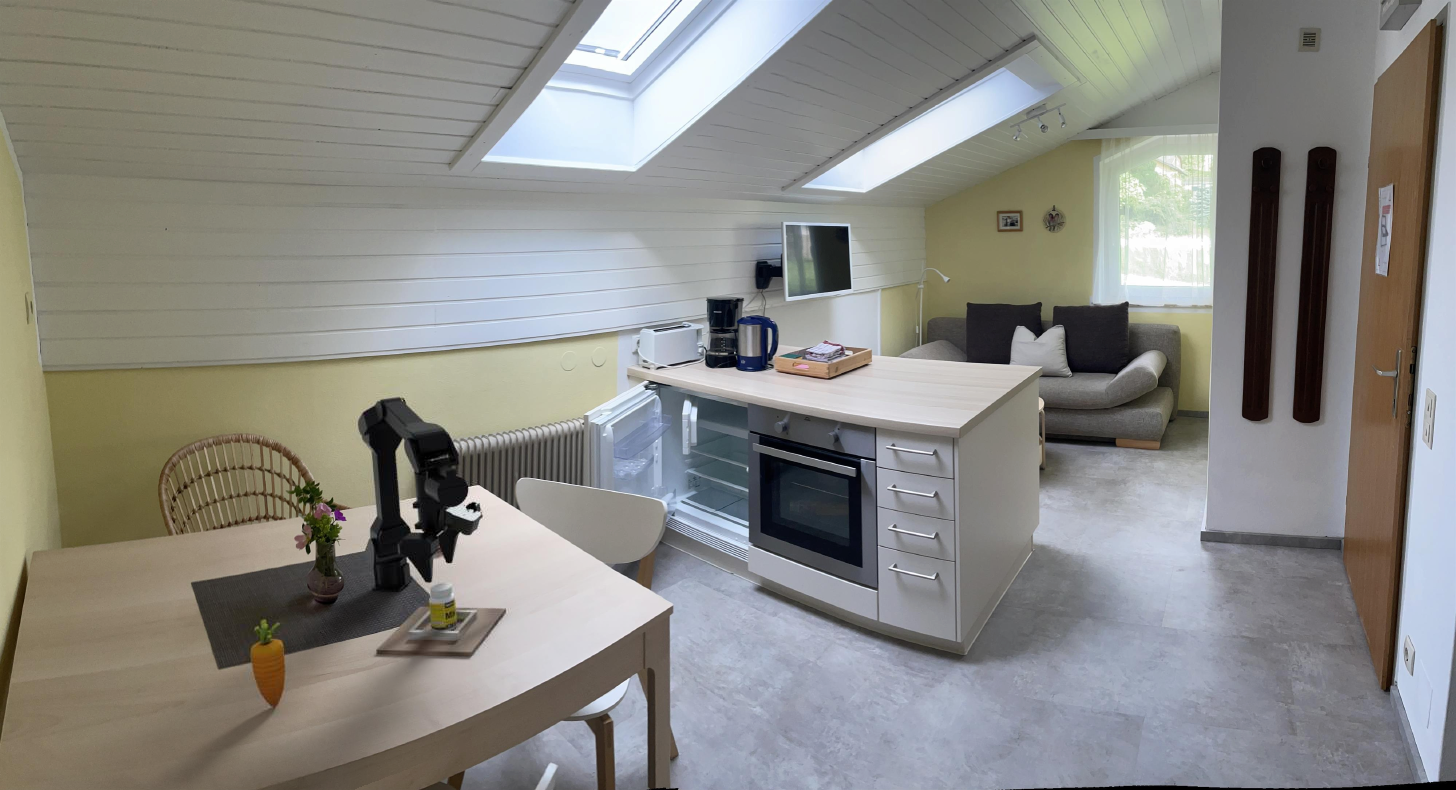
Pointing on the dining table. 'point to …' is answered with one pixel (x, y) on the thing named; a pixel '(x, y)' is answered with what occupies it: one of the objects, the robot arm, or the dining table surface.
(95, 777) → the dining table surface
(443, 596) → the supplement bottle
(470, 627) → the board
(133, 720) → the dining table surface
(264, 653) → the carrot
